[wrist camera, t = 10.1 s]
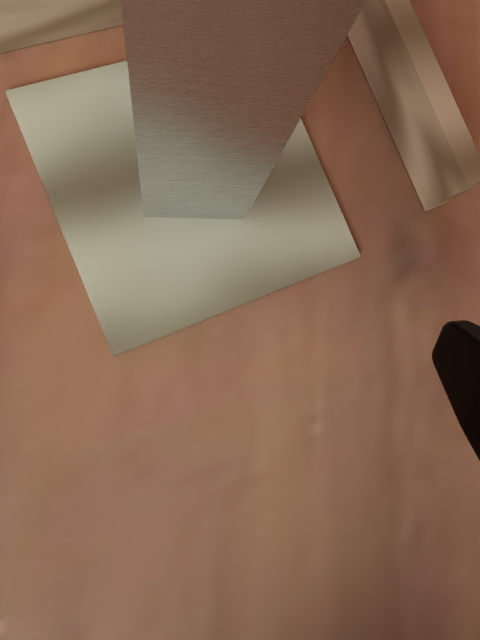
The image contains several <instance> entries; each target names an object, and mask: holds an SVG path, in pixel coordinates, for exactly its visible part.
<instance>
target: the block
mask: <svg viewBox="0 0 480 640" xmlns="http://www.w3.org/2000/svg"><path fill="white" fill-rule="evenodd" d="M366 1H367V0H121V6H122V16H123V25H124V35H125V44H126V54H127V63H128V73H129V83H130V92H131V102H132V111H133V121H134V130H135V140H136V149H137V159H138V168H139V178H140V187H141V197H142V206H143V216H144V217H158V218H205V219H245V217H246V215H247V213H248V212H249V210H250V208H251V206H252V205H253V203H254V201H255V199H256V197H257V196H258V194H259V192H260V190H261V188H262V187H263V185H264V183H265V181H266V179H267V178H268V176H269V174H270V172H271V171H272V169H273V167H274V165H275V163H276V162H277V160H278V158H279V156H280V154H281V153H282V151H283V149H284V147H285V146H286V144H287V142H288V140H289V138H290V137H291V135H292V133H293V131H294V129H295V128H296V126H297V124H298V122H299V120H300V119H301V117H302V115H303V113H304V112H305V110H306V108H307V106H308V104H309V103H310V101H311V99H312V97H313V95H314V94H315V92H316V90H317V88H318V87H319V85H320V83H321V81H322V79H323V78H324V76H325V74H326V72H327V70H328V69H329V67H330V65H331V63H332V61H333V60H334V58H335V56H336V54H337V53H338V51H339V49H340V47H341V45H342V44H343V42H344V40H345V38H346V36H347V35H348V33H349V31H350V29H351V28H352V26H353V24H354V22H355V20H356V19H357V17H358V15H359V13H360V11H361V10H362V8H363V6H364V4H365V2H366Z"/></svg>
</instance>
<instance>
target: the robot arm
mask: <svg viewBox="0 0 480 640" xmlns="http://www.w3.org/2000/svg"><path fill="white" fill-rule="evenodd" d="M432 359H433V363H434V366H435V368H436V371H437V373H438V375H439V378H440V380H441V382H442V385H443V387H444V389H445V392H446V394H447V396H448V399H449V401H450V403H451V406H452V408H453V410H454V413H455V415H456V417H457V419H458V421H459V424H460V426H461V428H462V430H463V431H464V433H465V435H466V437H467V439H468V441H469V443H470V444H471V446H472V448H473V450H474V451H475V453H476V455H477V457H478V459H479V460H480V326H478V325H476V324H474V323H472V322H470V321H466V320H462V321H450V322H447V323H446V324H445V325H444V326H443V328H442V330H441V333H440V335H439V337H438V340H437V342H436V344H435V347H434V349H433V352H432Z"/></svg>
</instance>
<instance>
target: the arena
mask: <svg viewBox="0 0 480 640" xmlns="http://www.w3.org/2000/svg"><path fill="white" fill-rule="evenodd" d="M120 25H123V16H122V6H121V0H0V53H3V52H7V51H12V50H16V49H20V48H25V47H29V46H33V45H38V44H42V43H46V42H51V41H55V40H59V39H64V38H68V37H72V36H77V35H81V34H85V33H90V32H94V31H98V30H103V29H107V28H111V27H116V26H120ZM347 36H348V38H349V40H350V42H351V45H352V47H353V49H354V51H355V54H356V56H357V58H358V60H359V63H360V65H361V67H362V70H363V72H364V74H365V76H366V79H367V81H368V83H369V85H370V88H371V90H372V92H373V94H374V97H375V99H376V101H377V103H378V106H379V108H380V110H381V113H382V115H383V117H384V119H385V122H386V124H387V126H388V128H389V131H390V133H391V135H392V137H393V140H394V142H395V144H396V146H397V149H398V151H399V153H400V156H401V158H402V160H403V162H404V165H405V167H406V169H407V171H408V174H409V176H410V178H411V180H412V183H413V185H414V187H415V189H416V192H417V194H418V196H419V199H420V201H421V203H422V205H423V208H424V210H425V212H426V211H428V210H431V209H433V208H436V207H438V206H441V205H443V204H446V203H447V202H449V201H451V200H452V199H454V198H456V197H458V196H459V195H461V194H463V193H464V192H466V191H468V190H470V189H471V188H473V187H475V186H476V185H478V184H480V155H479V153H478V151H477V148H476V146H475V144H474V142H473V140H472V137H471V135H470V133H469V131H468V128H467V126H466V124H465V122H464V120H463V117H462V115H461V113H460V111H459V108H458V106H457V104H456V102H455V99H454V97H453V95H452V93H451V91H450V88H449V86H448V84H447V82H446V79H445V77H444V75H443V73H442V71H441V68H440V66H439V64H438V62H437V59H436V57H435V55H434V53H433V51H432V48H431V46H430V44H429V42H428V39H427V37H426V35H425V33H424V30H423V28H422V26H421V24H420V22H419V19H418V17H417V15H416V13H415V10H414V8H413V6H412V4H411V2H410V0H367V1H366V2H365V4H364V6H363V8H362V10H361V11H360V13H359V15H358V17H357V19H356V20H355V22H354V24H353V26H352V28H351V29H350V31H349V33H348V35H347ZM5 92H6V95H7V97H8V100H9V102H10V105H11V107H12V110H13V112H14V114H15V117H16V119H17V122H18V124H19V127H20V129H21V132H22V134H23V137H24V139H25V141H26V144H27V146H28V149H29V151H30V154H31V156H32V159H33V161H34V164H35V166H36V168H37V171H38V173H39V176H40V178H41V181H42V183H43V186H44V188H45V191H46V193H47V195H48V198H49V200H50V203H51V205H52V208H53V210H54V213H55V215H56V218H57V220H58V222H59V225H60V227H61V230H62V232H63V235H64V237H65V240H66V242H67V245H68V247H69V249H70V252H71V254H72V257H73V259H74V262H75V264H76V267H77V269H78V272H79V274H80V277H81V279H82V281H83V284H84V286H85V289H86V291H87V294H88V296H89V299H90V301H91V304H92V306H93V308H94V311H95V313H96V316H97V318H98V321H99V323H100V326H101V328H102V331H103V333H104V335H105V338H106V340H107V343H108V345H109V348H110V350H111V353H112V355H113V356H116V355H119V354H121V353H124V352H126V351H129V350H131V349H134V348H136V347H139V346H141V345H144V344H146V343H149V342H151V341H154V340H156V339H159V338H161V337H164V336H166V335H169V334H171V333H174V332H176V331H179V330H181V329H183V328H186V327H188V326H191V325H193V324H196V323H198V322H201V321H203V320H206V319H208V318H211V317H213V316H216V315H218V314H221V313H223V312H226V311H228V310H231V309H233V308H236V307H238V306H241V305H243V304H246V303H248V302H250V301H253V300H255V299H258V298H260V297H263V296H265V295H268V294H270V293H273V292H275V291H278V290H280V289H283V288H285V287H288V286H290V285H293V284H295V283H298V282H300V281H303V280H305V279H308V278H310V277H313V276H315V275H317V274H320V273H322V272H325V271H327V270H330V269H332V268H335V267H337V266H340V265H342V264H345V263H347V262H350V261H352V260H355V259H357V258H359V257H361V256H360V253H359V251H358V249H357V246H356V244H355V242H354V239H353V237H352V235H351V233H350V230H349V228H348V226H347V223H346V221H345V219H344V216H343V214H342V212H341V210H340V207H339V205H338V203H337V200H336V198H335V196H334V193H333V191H332V189H331V186H330V184H329V182H328V180H327V177H326V175H325V173H324V170H323V168H322V166H321V163H320V161H319V159H318V157H317V154H316V152H315V150H314V147H313V145H312V143H311V140H310V138H309V136H308V133H307V131H306V129H305V127H304V124H303V122H302V120H301V119H300V120H299V122H298V124H297V126H296V128H295V129H294V131H293V133H292V135H291V137H290V138H289V140H288V142H287V144H286V146H285V147H284V149H283V151H282V153H281V154H280V156H279V158H278V160H277V162H276V163H275V165H274V167H273V169H272V171H271V172H270V174H269V176H268V178H267V179H266V181H265V183H264V185H263V187H262V188H261V190H260V192H259V194H258V196H257V197H256V199H255V201H254V203H253V205H252V206H251V208H250V210H249V212H248V213H247V215H246V217H245V219H205V218H158V217H144V216H143V206H142V197H141V187H140V178H139V168H138V159H137V149H136V140H135V130H134V121H133V111H132V102H131V92H130V83H129V73H128V63H127V61H123V62H119V63H115V64H111V65H107V66H103V67H99V68H95V69H91V70H87V71H83V72H79V73H75V74H71V75H67V76H63V77H59V78H55V79H51V80H47V81H43V82H39V83H35V84H31V85H27V86H23V87H19V88H15V89H11V90H6V91H5Z"/></svg>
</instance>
